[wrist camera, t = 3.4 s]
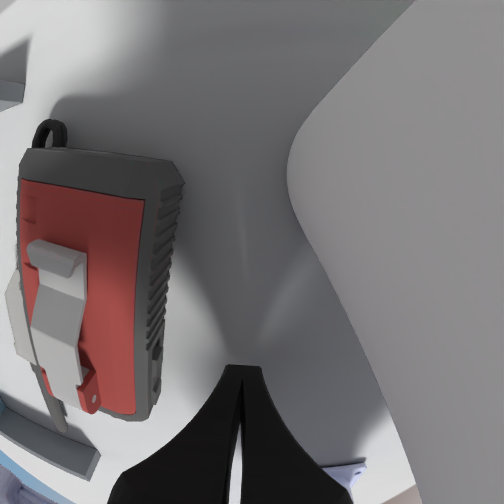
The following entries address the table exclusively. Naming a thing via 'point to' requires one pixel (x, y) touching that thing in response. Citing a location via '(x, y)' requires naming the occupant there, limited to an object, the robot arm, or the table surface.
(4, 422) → the tray
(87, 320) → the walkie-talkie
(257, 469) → the robot arm
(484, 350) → the mug
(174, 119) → the table surface
